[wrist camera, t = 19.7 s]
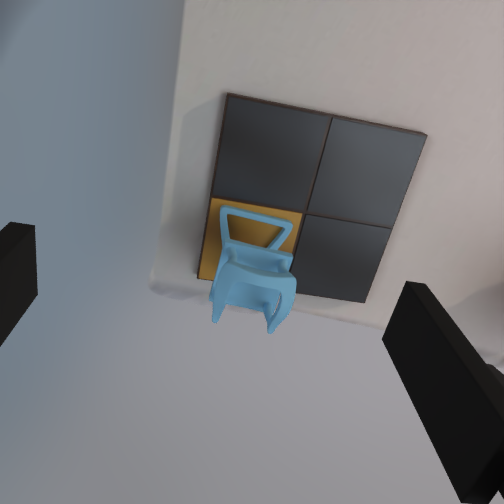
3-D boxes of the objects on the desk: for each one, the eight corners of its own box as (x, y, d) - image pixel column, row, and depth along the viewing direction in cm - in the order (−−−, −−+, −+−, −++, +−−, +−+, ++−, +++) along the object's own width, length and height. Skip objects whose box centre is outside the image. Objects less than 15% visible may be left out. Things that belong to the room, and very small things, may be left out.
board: (227, 92, 40) (227, 93, 39) (423, 132, 43) (428, 135, 42) (197, 274, 49) (196, 279, 48) (362, 298, 52) (365, 304, 51)
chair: (203, 271, 48) (196, 340, 37) (221, 203, 44) (219, 256, 33) (270, 286, 49) (281, 356, 38) (292, 220, 45) (312, 277, 35)
